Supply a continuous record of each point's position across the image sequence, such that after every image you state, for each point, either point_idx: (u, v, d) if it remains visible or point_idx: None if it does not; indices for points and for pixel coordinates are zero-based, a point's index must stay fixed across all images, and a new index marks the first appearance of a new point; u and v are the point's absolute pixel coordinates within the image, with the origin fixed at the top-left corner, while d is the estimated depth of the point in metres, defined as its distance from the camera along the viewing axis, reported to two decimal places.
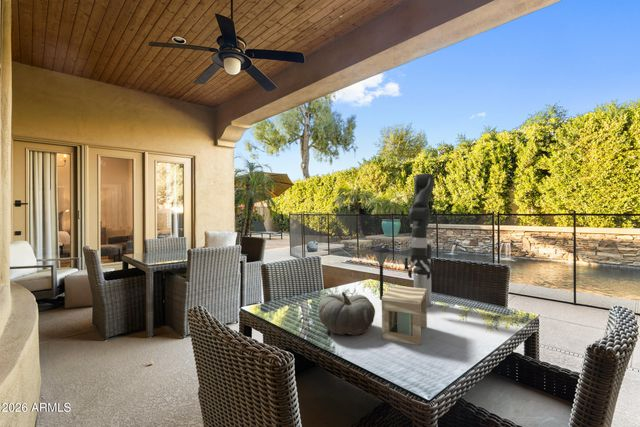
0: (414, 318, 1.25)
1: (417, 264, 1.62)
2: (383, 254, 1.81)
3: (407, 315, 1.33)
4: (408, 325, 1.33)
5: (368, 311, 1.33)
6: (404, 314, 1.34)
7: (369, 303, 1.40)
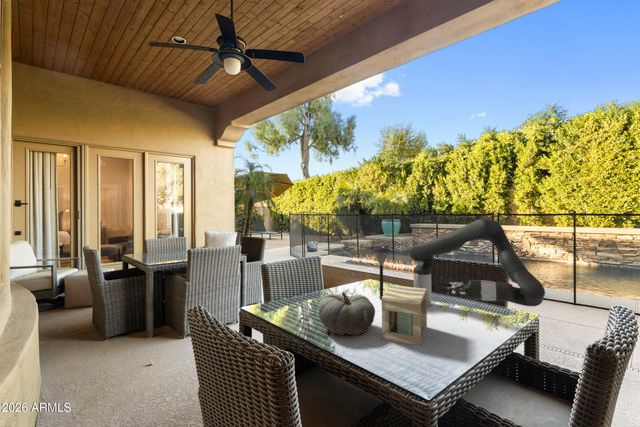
0: (414, 318, 1.25)
1: None
2: (383, 254, 1.81)
3: (407, 315, 1.33)
4: (408, 325, 1.33)
5: (368, 311, 1.33)
6: (404, 314, 1.34)
7: (369, 303, 1.40)
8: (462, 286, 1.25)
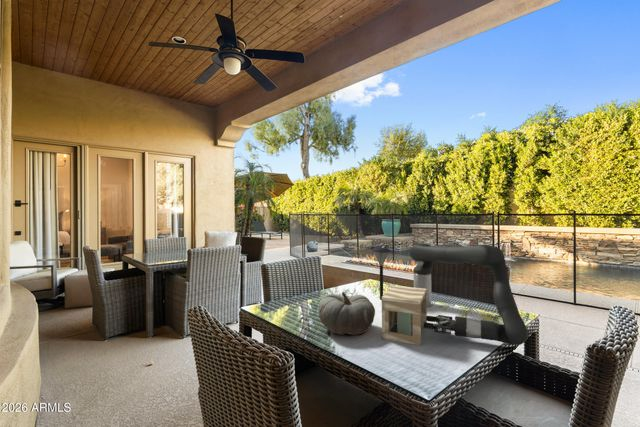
0: (414, 318, 1.25)
1: None
2: (383, 254, 1.81)
3: (407, 315, 1.33)
4: (408, 325, 1.33)
5: (368, 311, 1.33)
6: (404, 314, 1.34)
7: (369, 303, 1.40)
8: (448, 323, 1.27)
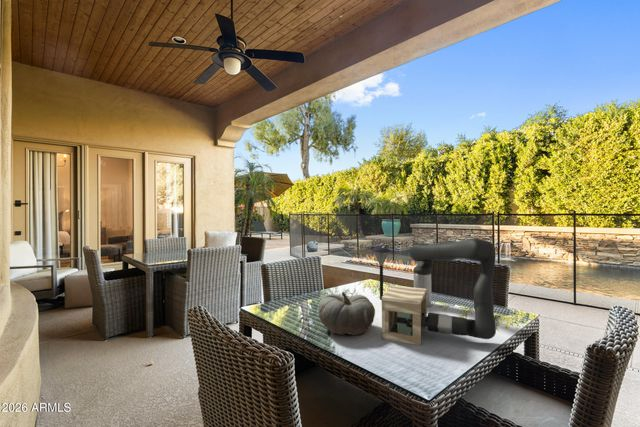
0: (414, 318, 1.25)
1: None
2: (383, 254, 1.81)
3: (407, 315, 1.33)
4: None
5: (368, 311, 1.33)
6: (404, 314, 1.34)
7: (369, 303, 1.40)
8: (421, 319, 1.32)
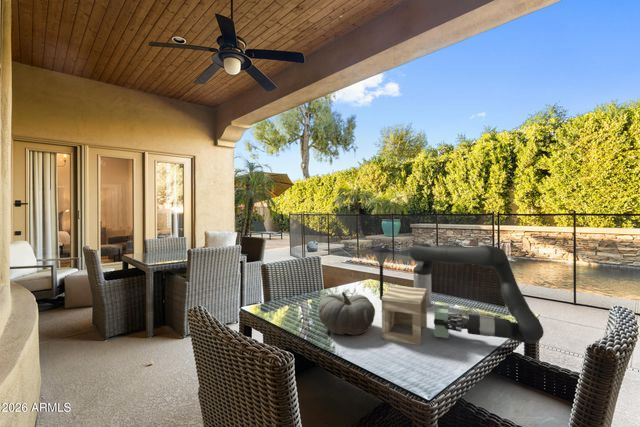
0: (414, 318, 1.25)
1: None
2: (383, 254, 1.81)
3: (445, 316, 1.27)
4: None
5: (368, 311, 1.33)
6: (441, 315, 1.28)
7: (369, 303, 1.40)
8: (460, 320, 1.25)
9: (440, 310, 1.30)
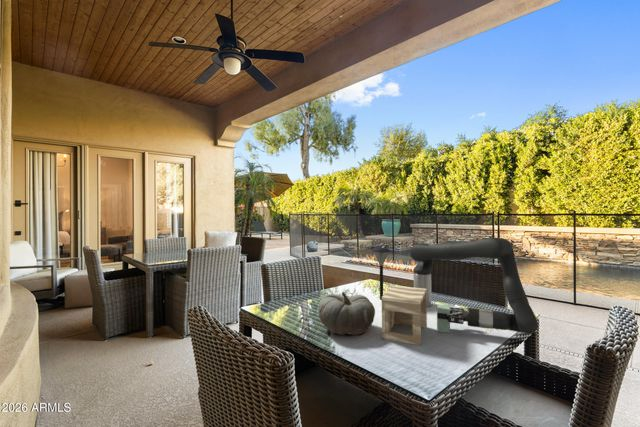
0: (414, 318, 1.25)
1: None
2: (383, 254, 1.81)
3: (447, 312, 1.36)
4: (448, 322, 1.36)
5: (368, 311, 1.33)
6: (444, 311, 1.37)
7: (369, 303, 1.40)
8: (461, 314, 1.34)
9: (442, 306, 1.39)
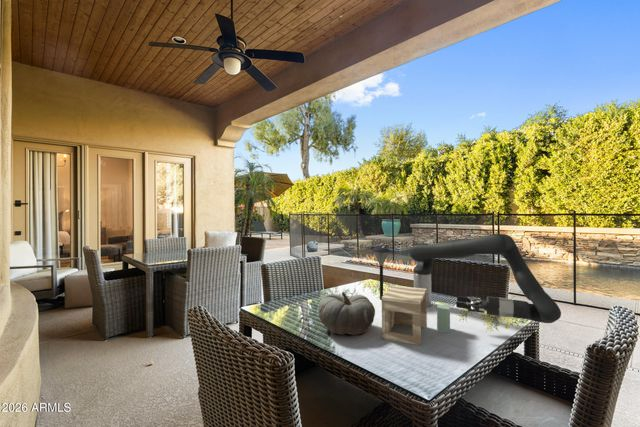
0: (414, 318, 1.25)
1: None
2: (383, 254, 1.81)
3: (447, 312, 1.36)
4: (448, 322, 1.36)
5: (368, 311, 1.33)
6: (444, 311, 1.37)
7: (369, 303, 1.40)
8: (480, 302, 1.32)
9: (442, 306, 1.39)
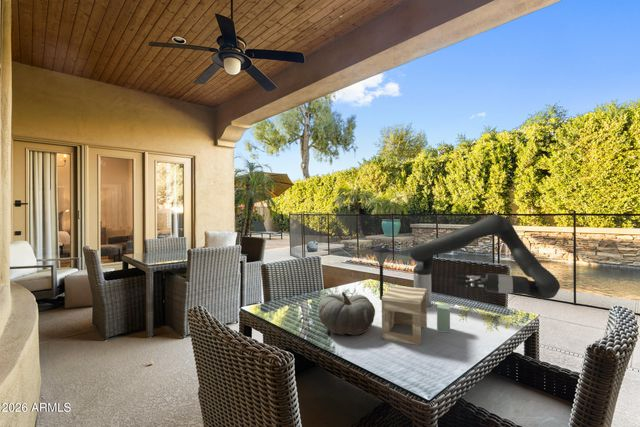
0: (414, 318, 1.25)
1: None
2: (383, 254, 1.81)
3: (447, 312, 1.36)
4: (448, 322, 1.36)
5: (368, 311, 1.33)
6: (444, 311, 1.37)
7: (369, 303, 1.40)
8: (480, 279, 1.32)
9: (442, 306, 1.39)
